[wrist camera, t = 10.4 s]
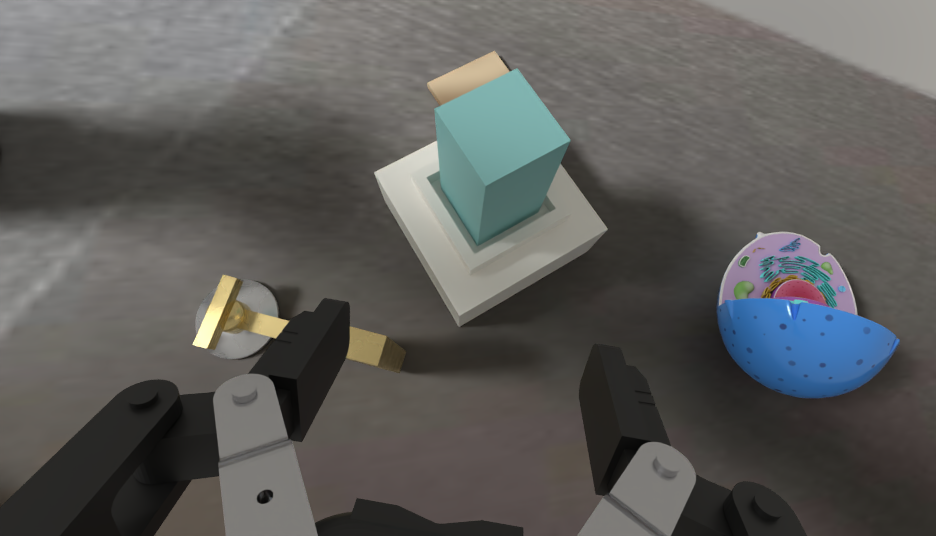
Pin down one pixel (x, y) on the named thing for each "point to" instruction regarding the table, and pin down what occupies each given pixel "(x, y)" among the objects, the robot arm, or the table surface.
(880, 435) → the table surface
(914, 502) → the table surface
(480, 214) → the teal upright prism
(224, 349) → the key socket
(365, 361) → the key lever
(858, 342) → the cell model
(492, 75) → the pad
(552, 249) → the housing
